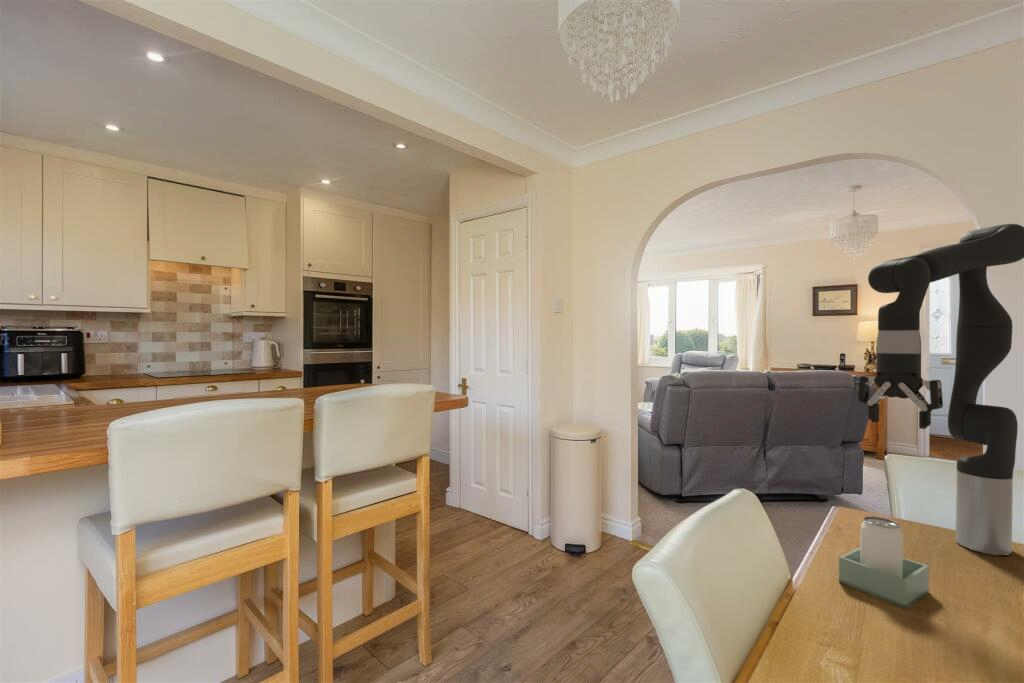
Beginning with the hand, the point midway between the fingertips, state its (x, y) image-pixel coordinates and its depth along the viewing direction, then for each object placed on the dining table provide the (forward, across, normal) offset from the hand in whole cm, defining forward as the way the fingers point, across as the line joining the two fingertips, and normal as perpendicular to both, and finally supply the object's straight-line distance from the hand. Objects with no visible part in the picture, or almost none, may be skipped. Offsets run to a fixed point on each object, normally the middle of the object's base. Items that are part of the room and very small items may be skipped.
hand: (898, 425), depth 102 cm
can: (+29, -3, +17) cm, 34 cm away
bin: (+29, -3, +17) cm, 34 cm away
